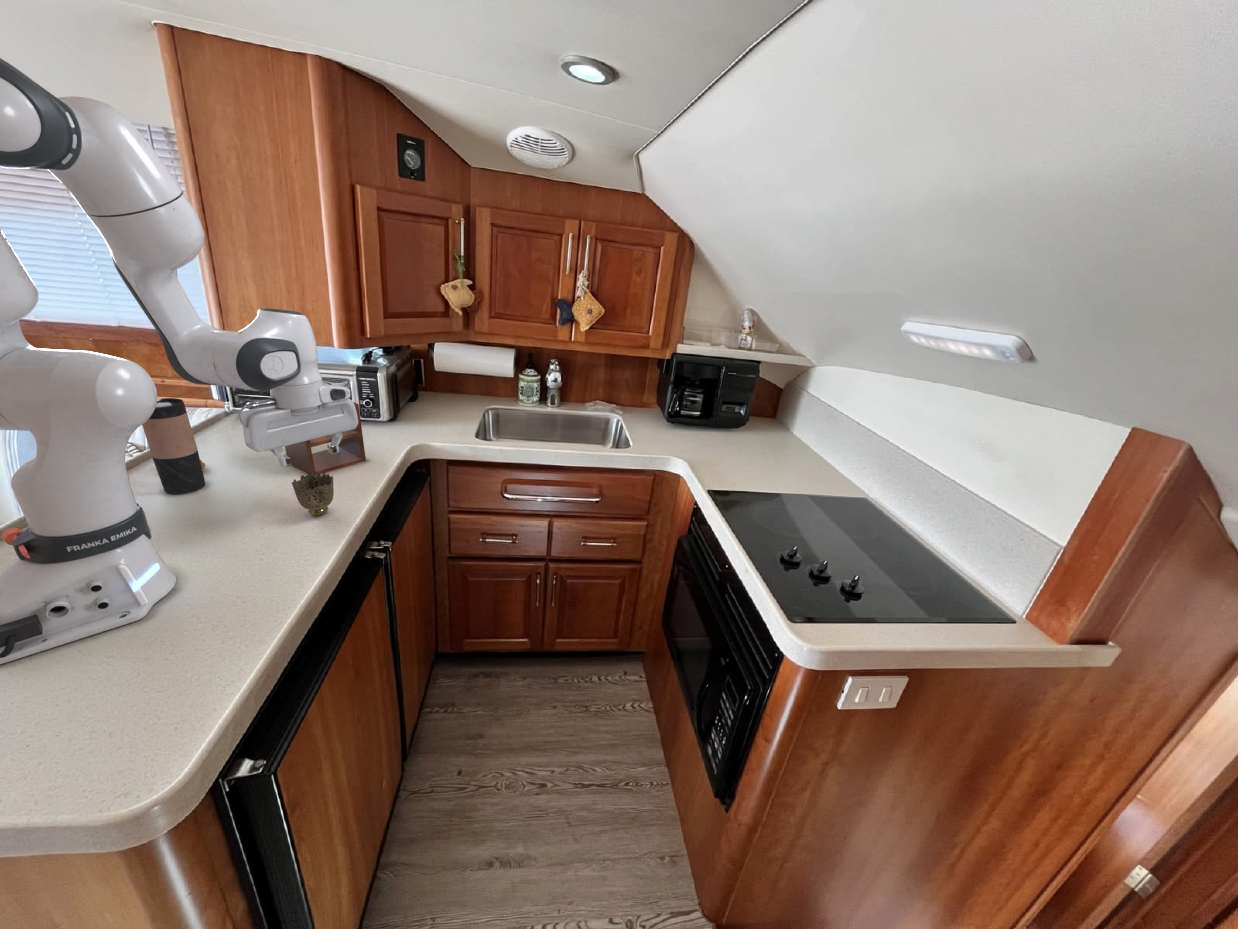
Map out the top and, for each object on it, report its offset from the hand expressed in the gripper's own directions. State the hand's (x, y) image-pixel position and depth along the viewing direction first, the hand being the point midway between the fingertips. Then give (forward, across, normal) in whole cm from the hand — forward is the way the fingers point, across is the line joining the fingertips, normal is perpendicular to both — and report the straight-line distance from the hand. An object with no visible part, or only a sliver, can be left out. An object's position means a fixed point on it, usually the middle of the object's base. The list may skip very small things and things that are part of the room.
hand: (310, 458), depth 101 cm
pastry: (+13, -11, +43) cm, 46 cm away
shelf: (+13, +14, +25) cm, 31 cm away
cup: (+13, -1, 0) cm, 13 cm away
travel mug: (+13, -14, +32) cm, 37 cm away
